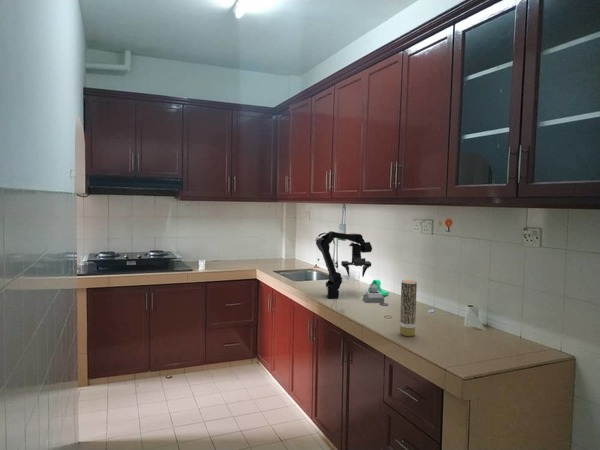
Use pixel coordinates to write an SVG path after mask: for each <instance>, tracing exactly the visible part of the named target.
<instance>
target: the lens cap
mask: <svg viewBox="0 0 600 450" xmlns="http://www.w3.org/2000/svg"><path fill="white" fill-rule="evenodd" d="M379 305H380V306H381V307H388V306H389V303H388V302H384V303H379Z"/></svg>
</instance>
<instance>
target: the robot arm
mask: <svg viewBox="0 0 600 450" xmlns="http://www.w3.org/2000/svg"><path fill="white" fill-rule="evenodd" d="M363 237H364V236H363V235H362V234H361V233H357V232H356V233H344V232H338V231H337V232H336V231H332V230H330V231H328V232H327V233H326V234H324V235H323V236H321V237H319V238H317V239H316V241H315V245H316V247H317V248H318V250H319V252H321V254H322V257H323V260H324V262H325V266H326V269H327V271H328V281H326V282H325V286H326V289H327V290H326V291H327V293H326V298H327V299H332V300H333V299H339V297H340V295H339V294H340V291H339V289H340V287H341V285H342V283H343V277H342V274H341V273H340V272H337V270H336V266H335V264H334V261H333V258H332V256H331V253H330V244H331V243H333V240H334V239H340V240H341V239H342V240H347V241H350V244H349V245H348V247H351V261H348V260H342V261H341V263H340V265H341V267H343V268H345V270H346V271H345V272H346V273H347V277H348V278H350V267H349V266H354V267H358V266H359V267H362V271H361V272H362V273H361V276H362V278H364V276H365V274H366V271H367V270H368V269H369V268H370V267H372V262H371V261H369V260H366V258H363V257H362V253H371V252H372V251H373V246H372V244H371V242H370V241H365V240H364V238H363Z"/></svg>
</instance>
